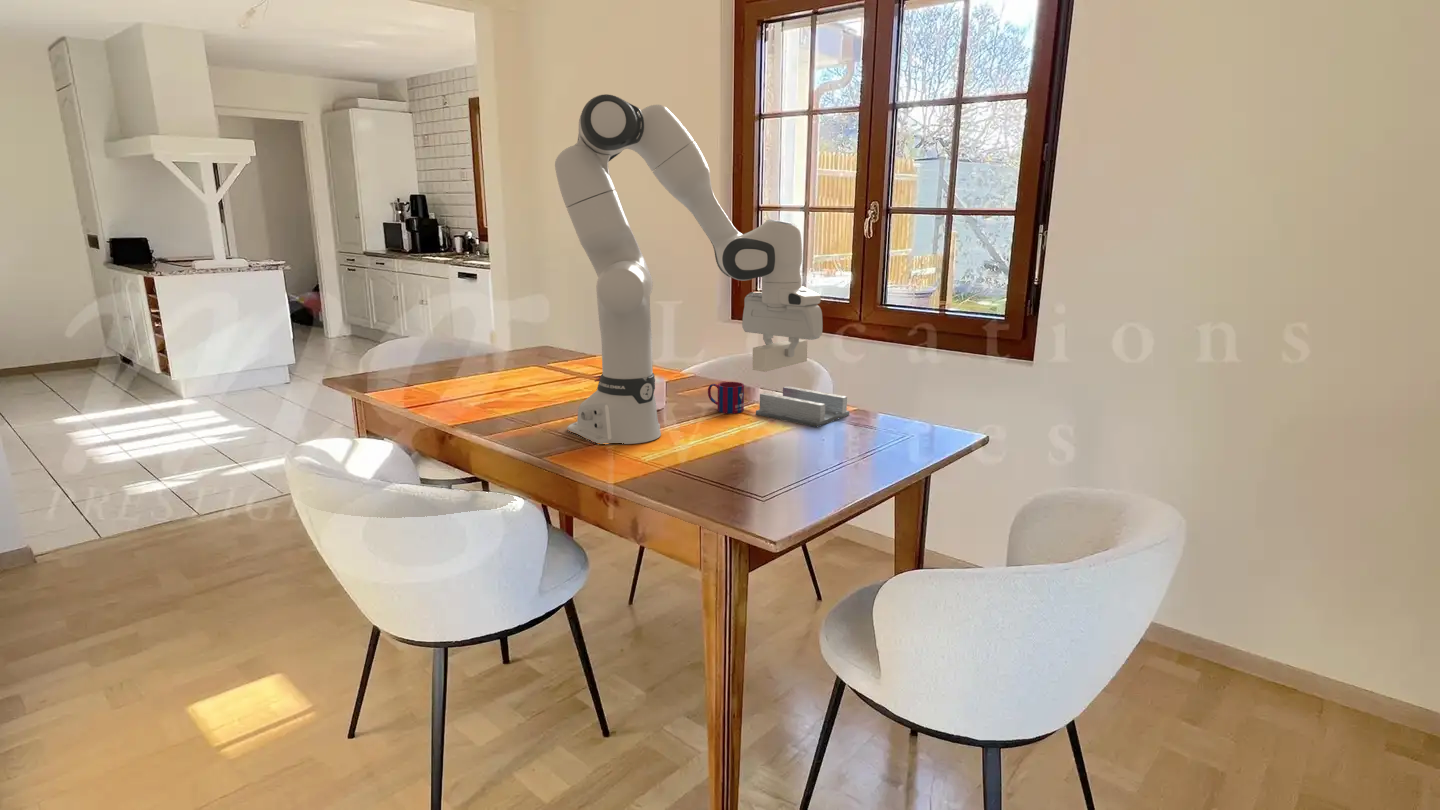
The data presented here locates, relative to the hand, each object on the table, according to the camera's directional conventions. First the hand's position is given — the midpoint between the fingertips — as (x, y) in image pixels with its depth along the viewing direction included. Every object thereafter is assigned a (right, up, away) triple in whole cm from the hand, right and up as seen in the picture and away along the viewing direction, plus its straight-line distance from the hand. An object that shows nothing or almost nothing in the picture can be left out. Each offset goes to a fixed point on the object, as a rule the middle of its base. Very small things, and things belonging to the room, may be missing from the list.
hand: (780, 355), depth 178 cm
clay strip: (0, -2, +1) cm, 2 cm away
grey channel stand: (+7, -14, +17) cm, 23 cm away
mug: (-12, -13, +22) cm, 29 cm away
